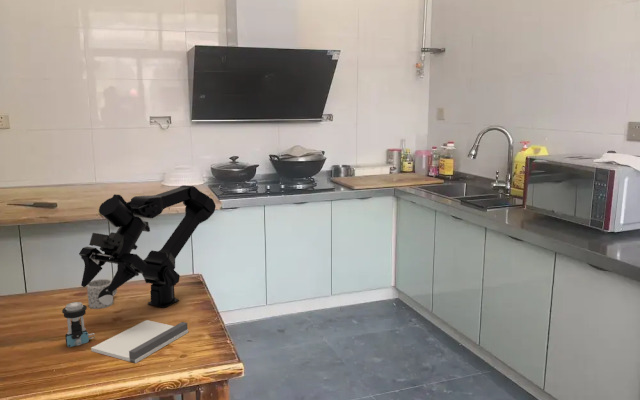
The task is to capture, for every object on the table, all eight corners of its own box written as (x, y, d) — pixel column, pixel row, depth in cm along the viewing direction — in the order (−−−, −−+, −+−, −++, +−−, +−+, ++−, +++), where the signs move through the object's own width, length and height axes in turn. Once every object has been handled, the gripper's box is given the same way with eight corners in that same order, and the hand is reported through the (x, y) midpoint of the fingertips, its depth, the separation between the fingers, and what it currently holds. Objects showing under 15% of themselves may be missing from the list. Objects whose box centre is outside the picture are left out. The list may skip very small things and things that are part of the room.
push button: (92, 335, 129) (89, 297, 128) (97, 343, 125) (94, 304, 123) (63, 342, 125) (59, 303, 124) (67, 350, 121) (64, 310, 120)
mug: (102, 310, 146) (100, 287, 145) (83, 307, 148) (81, 285, 147) (125, 298, 155) (124, 277, 154) (107, 295, 157) (106, 274, 156)
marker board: (146, 322, 137) (146, 313, 137) (188, 332, 131) (187, 323, 131) (91, 350, 121) (90, 341, 121) (135, 363, 115) (135, 352, 115)
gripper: (82, 216, 134) (47, 268, 126) (135, 223, 126) (102, 279, 118) (108, 239, 143) (77, 289, 135) (159, 246, 135) (130, 300, 127)
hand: (95, 289), depth 128 cm, fingers open, 9 cm apart
